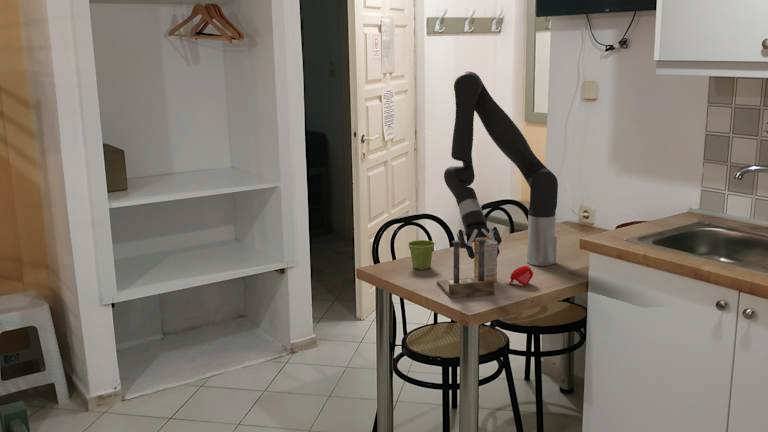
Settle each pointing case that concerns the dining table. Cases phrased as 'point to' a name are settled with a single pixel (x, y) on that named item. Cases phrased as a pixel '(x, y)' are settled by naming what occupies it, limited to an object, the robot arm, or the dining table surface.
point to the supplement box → (487, 259)
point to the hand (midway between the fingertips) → (485, 256)
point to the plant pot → (421, 253)
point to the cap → (522, 275)
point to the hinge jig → (467, 285)
